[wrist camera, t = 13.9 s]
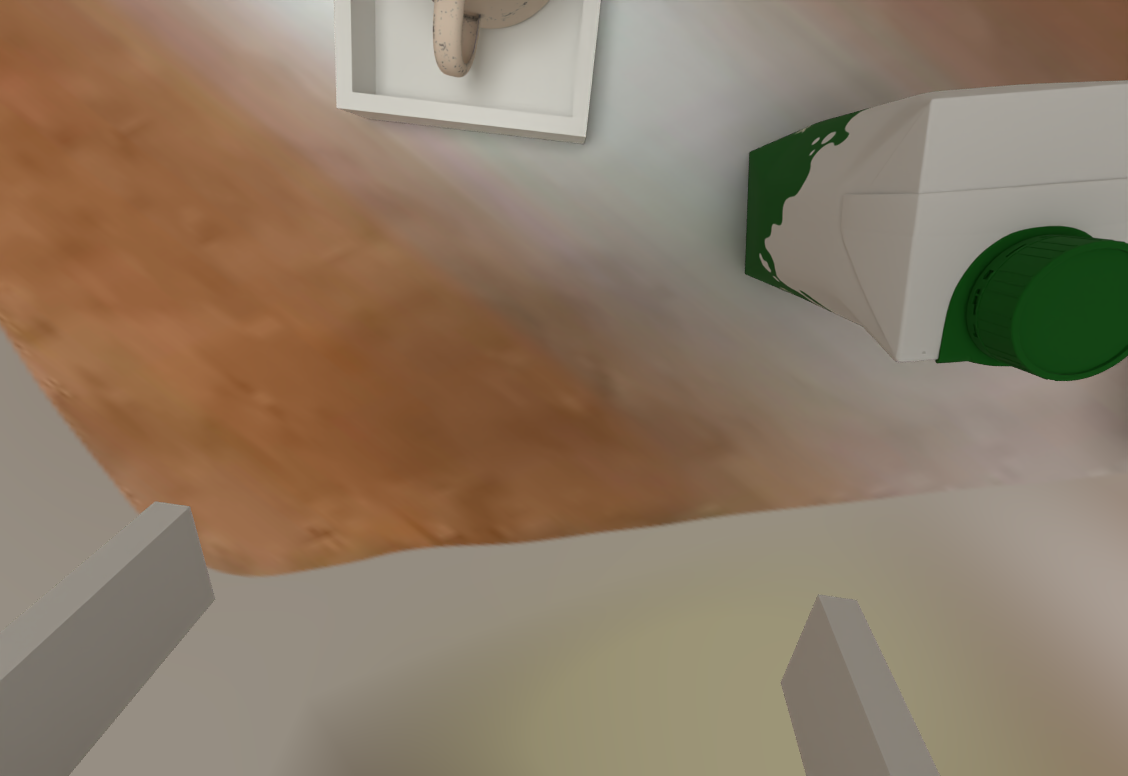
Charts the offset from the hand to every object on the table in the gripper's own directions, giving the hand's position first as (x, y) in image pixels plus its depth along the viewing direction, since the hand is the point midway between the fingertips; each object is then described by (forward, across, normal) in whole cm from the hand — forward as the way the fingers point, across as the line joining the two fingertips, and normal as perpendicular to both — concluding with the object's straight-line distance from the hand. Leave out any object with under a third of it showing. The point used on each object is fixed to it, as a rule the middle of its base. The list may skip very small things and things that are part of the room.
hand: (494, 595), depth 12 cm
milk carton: (+28, +13, +5) cm, 31 cm away
